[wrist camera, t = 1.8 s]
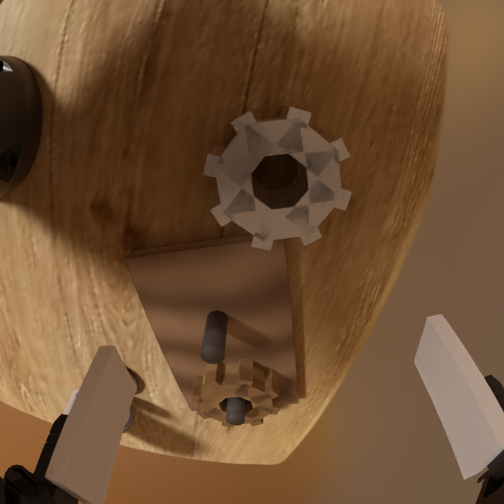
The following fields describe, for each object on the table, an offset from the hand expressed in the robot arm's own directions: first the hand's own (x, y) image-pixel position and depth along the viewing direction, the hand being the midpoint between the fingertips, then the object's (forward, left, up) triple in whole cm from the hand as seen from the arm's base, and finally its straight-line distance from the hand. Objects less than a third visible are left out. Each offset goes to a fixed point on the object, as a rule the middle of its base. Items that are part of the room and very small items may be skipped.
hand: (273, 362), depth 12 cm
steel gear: (-4, +2, -16) cm, 17 cm away
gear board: (+13, -5, -16) cm, 21 cm away
